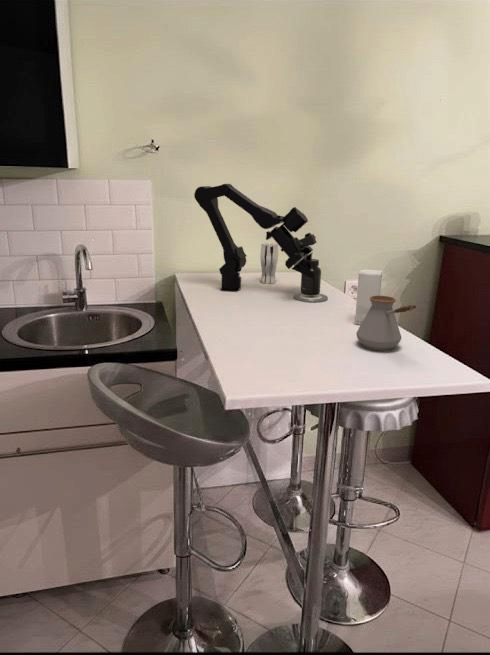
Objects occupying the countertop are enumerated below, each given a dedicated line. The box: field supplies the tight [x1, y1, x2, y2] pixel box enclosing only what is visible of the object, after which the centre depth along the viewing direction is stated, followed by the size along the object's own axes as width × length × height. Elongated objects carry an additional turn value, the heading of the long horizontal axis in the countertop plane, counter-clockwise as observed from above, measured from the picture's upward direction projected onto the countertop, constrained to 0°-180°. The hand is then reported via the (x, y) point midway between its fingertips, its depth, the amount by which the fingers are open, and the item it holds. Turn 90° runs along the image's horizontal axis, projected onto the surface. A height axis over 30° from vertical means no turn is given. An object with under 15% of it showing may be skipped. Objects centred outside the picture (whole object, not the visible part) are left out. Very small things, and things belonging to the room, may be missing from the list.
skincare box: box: [354, 268, 383, 326], centre depth 153 cm, size 8×7×16 cm
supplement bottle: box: [300, 258, 322, 296], centre depth 179 cm, size 7×7×12 cm
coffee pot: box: [355, 295, 420, 352], centre depth 128 cm, size 21×12×15 cm, turn 13°
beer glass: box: [259, 243, 279, 285], centre depth 202 cm, size 7×7×15 cm
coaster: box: [293, 292, 329, 303], centre depth 182 cm, size 12×12×1 cm
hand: (315, 275), depth 179 cm, fingers closed on supplement bottle, 7 cm apart
